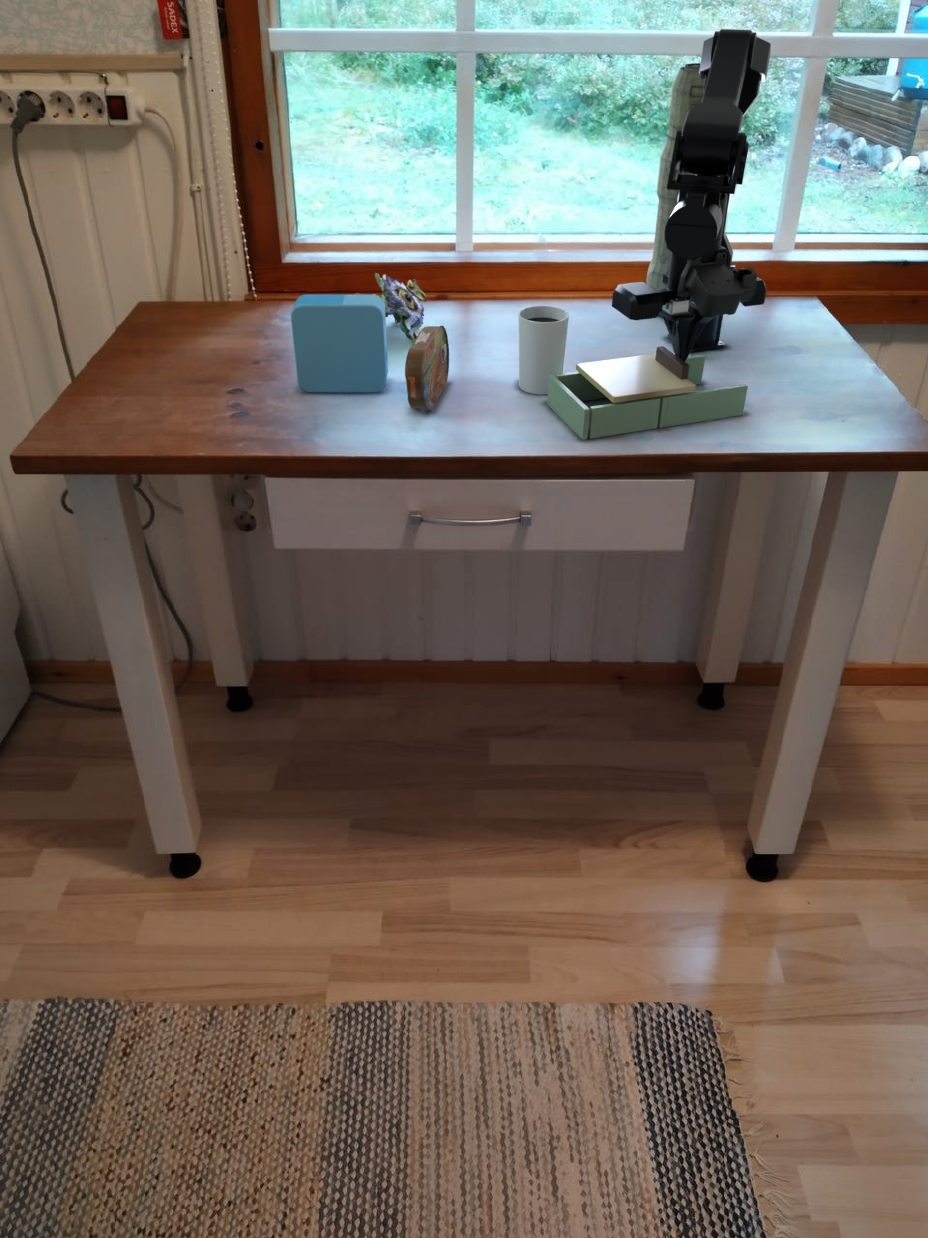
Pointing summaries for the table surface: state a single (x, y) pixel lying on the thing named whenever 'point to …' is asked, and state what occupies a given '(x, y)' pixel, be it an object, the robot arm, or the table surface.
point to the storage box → (640, 405)
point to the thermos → (682, 100)
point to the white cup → (541, 346)
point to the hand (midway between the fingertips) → (680, 360)
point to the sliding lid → (639, 376)
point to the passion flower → (402, 304)
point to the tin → (427, 367)
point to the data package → (340, 343)
